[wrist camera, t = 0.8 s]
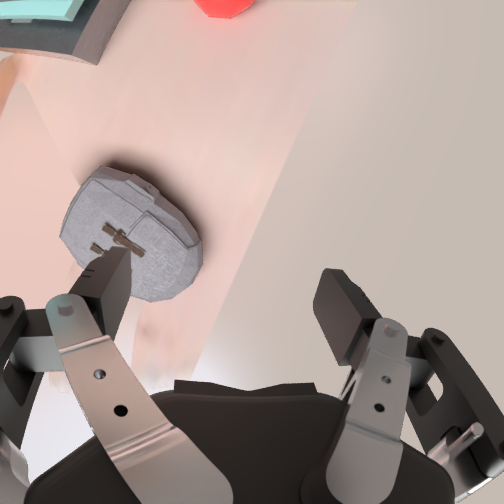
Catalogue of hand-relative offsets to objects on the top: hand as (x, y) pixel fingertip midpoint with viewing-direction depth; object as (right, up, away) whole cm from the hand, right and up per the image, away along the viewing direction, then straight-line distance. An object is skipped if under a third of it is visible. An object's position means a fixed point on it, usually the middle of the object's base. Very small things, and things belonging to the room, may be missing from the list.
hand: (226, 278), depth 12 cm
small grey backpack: (-15, +4, +27) cm, 31 cm away
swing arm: (-24, +29, +2) cm, 38 cm away
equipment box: (-25, +35, +11) cm, 44 cm away
